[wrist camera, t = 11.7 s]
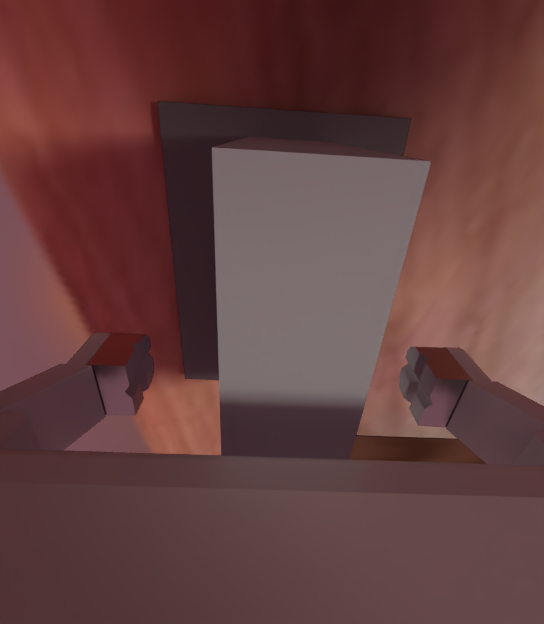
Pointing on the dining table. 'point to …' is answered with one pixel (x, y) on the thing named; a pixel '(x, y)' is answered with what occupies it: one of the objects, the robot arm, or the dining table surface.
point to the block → (304, 287)
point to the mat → (200, 206)
